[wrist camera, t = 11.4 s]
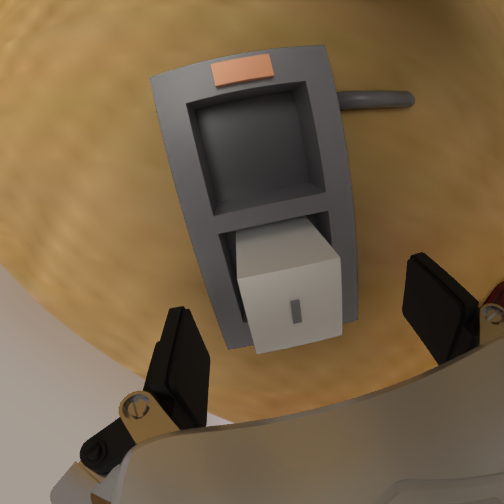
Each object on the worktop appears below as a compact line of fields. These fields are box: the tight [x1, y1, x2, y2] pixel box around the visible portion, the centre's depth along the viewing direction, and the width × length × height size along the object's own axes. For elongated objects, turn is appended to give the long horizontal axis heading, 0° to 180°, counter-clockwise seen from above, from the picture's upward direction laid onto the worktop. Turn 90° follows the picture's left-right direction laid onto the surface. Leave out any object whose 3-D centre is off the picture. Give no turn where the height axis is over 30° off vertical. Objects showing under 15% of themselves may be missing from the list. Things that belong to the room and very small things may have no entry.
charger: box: [236, 215, 342, 354], centre depth 15 cm, size 4×4×7 cm
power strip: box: [150, 45, 415, 350], centre depth 16 cm, size 17×16×4 cm
